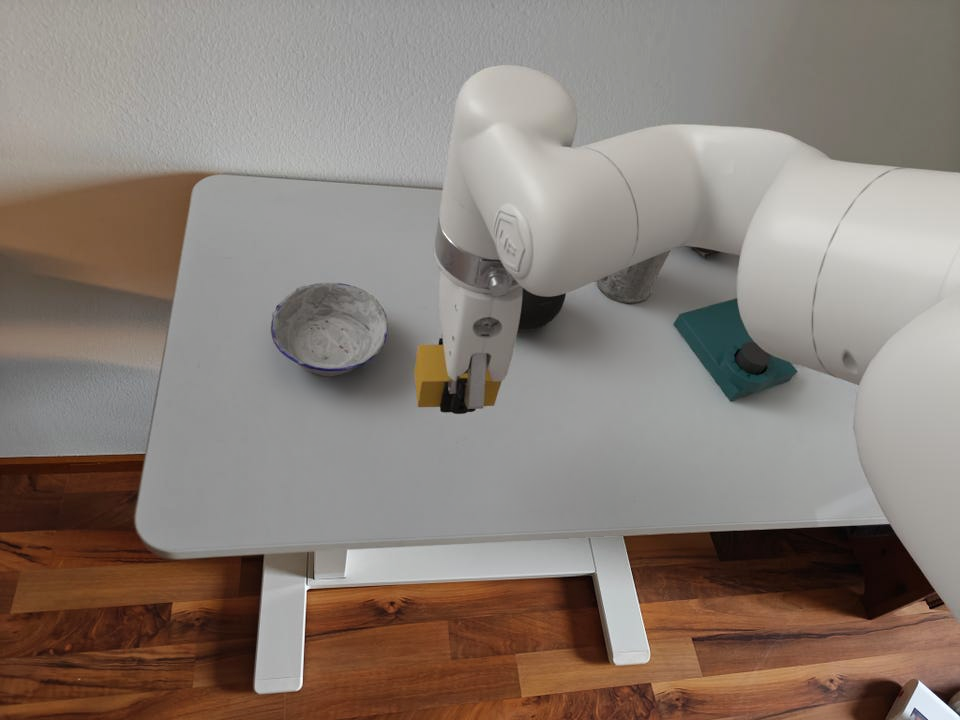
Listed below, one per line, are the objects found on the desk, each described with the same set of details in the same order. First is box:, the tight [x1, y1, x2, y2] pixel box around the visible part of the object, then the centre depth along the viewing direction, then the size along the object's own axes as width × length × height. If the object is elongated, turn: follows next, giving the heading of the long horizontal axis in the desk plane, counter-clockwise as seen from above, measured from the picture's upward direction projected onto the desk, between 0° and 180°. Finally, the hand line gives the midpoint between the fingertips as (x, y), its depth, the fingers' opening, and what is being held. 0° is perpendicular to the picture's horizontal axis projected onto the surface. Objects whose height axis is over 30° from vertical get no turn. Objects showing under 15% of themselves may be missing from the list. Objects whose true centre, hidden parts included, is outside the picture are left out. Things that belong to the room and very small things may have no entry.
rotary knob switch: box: [673, 297, 798, 402], centre depth 94 cm, size 14×10×4 cm
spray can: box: [596, 250, 672, 304], centre depth 92 cm, size 8×8×20 cm
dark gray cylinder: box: [736, 342, 771, 375], centre depth 89 cm, size 4×4×2 cm
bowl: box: [270, 282, 389, 377], centre depth 84 cm, size 13×13×5 cm
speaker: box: [518, 288, 567, 332], centre depth 89 cm, size 10×10×10 cm
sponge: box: [413, 344, 503, 408], centre depth 65 cm, size 7×4×4 cm, turn 97°
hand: (454, 386), depth 67 cm, fingers closed on sponge, 4 cm apart
